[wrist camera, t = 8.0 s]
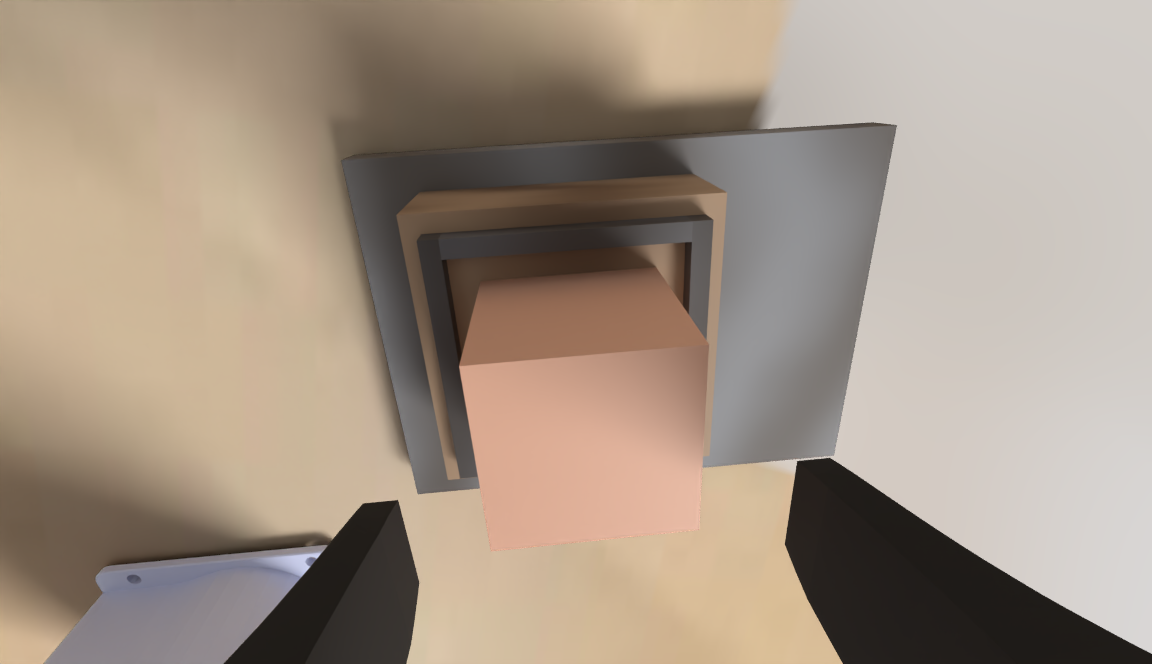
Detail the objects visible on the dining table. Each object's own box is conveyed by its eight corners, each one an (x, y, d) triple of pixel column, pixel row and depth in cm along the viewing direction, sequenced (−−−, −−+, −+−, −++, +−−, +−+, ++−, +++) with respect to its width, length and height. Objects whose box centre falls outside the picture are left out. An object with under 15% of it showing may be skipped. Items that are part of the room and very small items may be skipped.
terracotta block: (501, 428, 15) (490, 551, 11) (480, 281, 14) (459, 365, 9) (655, 413, 16) (699, 529, 12) (656, 267, 14) (709, 344, 10)
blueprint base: (423, 473, 21) (395, 574, 17) (354, 155, 16) (288, 181, 12) (818, 436, 22) (890, 524, 17) (873, 122, 17) (993, 136, 12)
